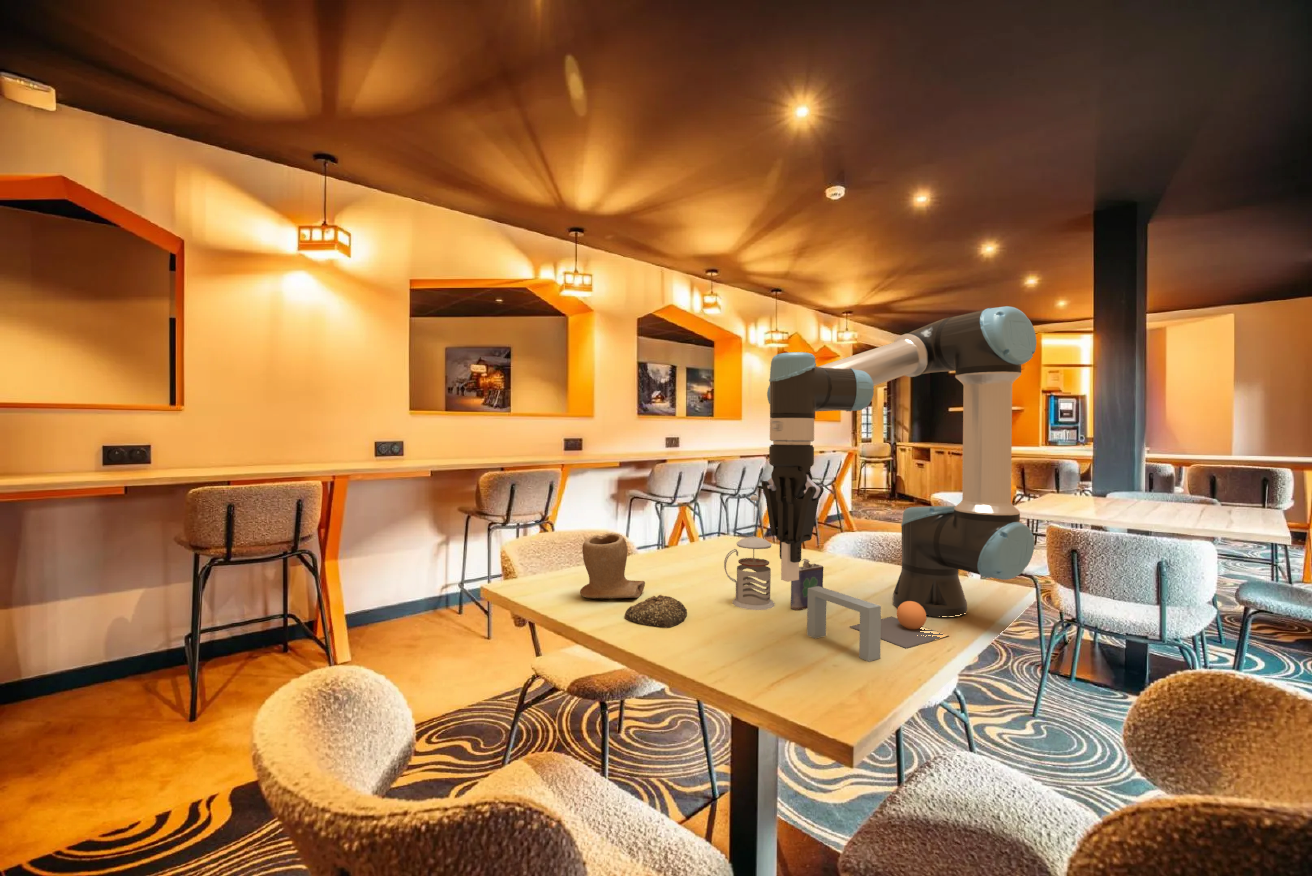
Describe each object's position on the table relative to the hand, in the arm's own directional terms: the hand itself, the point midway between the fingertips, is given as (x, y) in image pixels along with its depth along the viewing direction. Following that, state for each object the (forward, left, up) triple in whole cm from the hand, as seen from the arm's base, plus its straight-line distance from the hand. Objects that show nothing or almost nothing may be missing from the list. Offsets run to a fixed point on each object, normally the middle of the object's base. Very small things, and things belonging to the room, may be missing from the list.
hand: (790, 579), depth 98 cm
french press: (-15, -29, -14) cm, 36 cm away
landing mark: (-29, 0, -14) cm, 32 cm away
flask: (-25, -21, -14) cm, 36 cm away
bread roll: (+8, -31, -15) cm, 35 cm away
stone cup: (+11, -48, -14) cm, 51 cm away
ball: (-33, 0, -11) cm, 35 cm away
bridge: (-13, 0, -14) cm, 19 cm away
